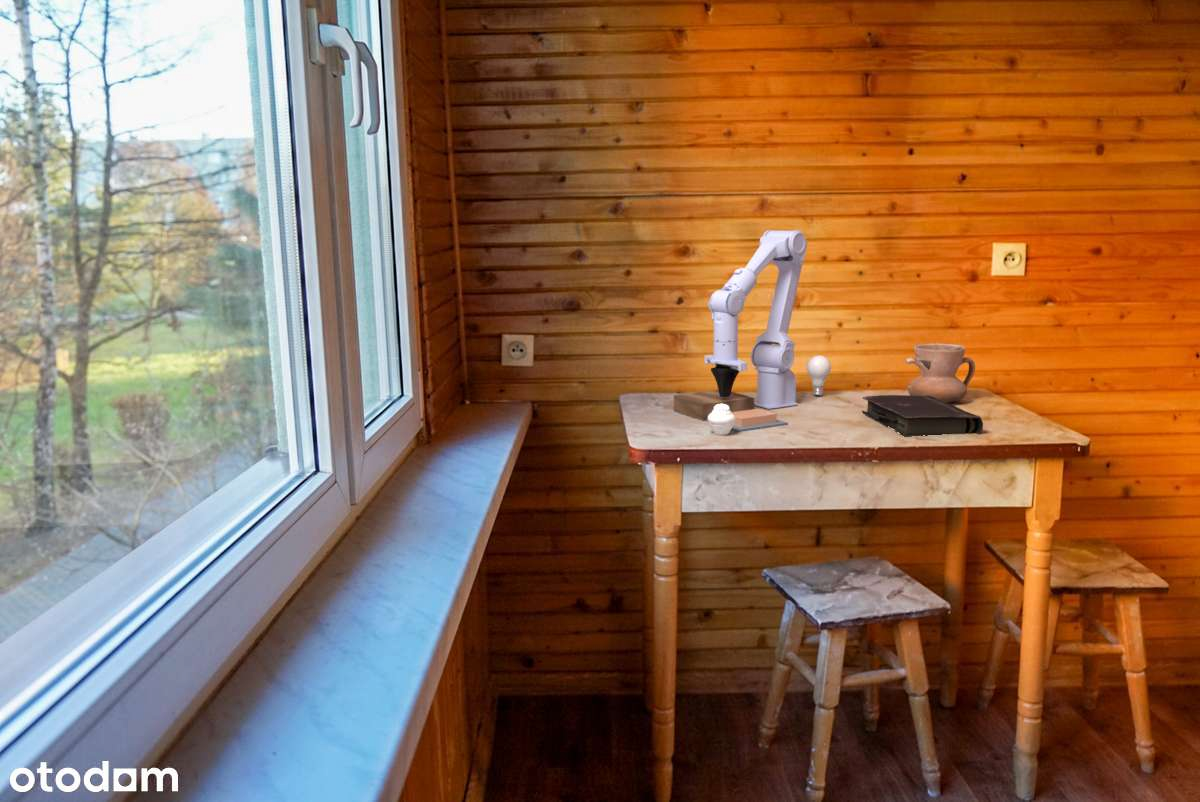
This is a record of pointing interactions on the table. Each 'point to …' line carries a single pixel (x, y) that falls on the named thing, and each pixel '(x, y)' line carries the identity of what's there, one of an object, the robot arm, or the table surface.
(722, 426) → the muffin
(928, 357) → the ceramic jug
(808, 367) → the lightbulb
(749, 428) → the mat
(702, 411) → the board
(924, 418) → the diary
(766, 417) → the block
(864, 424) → the table surface
